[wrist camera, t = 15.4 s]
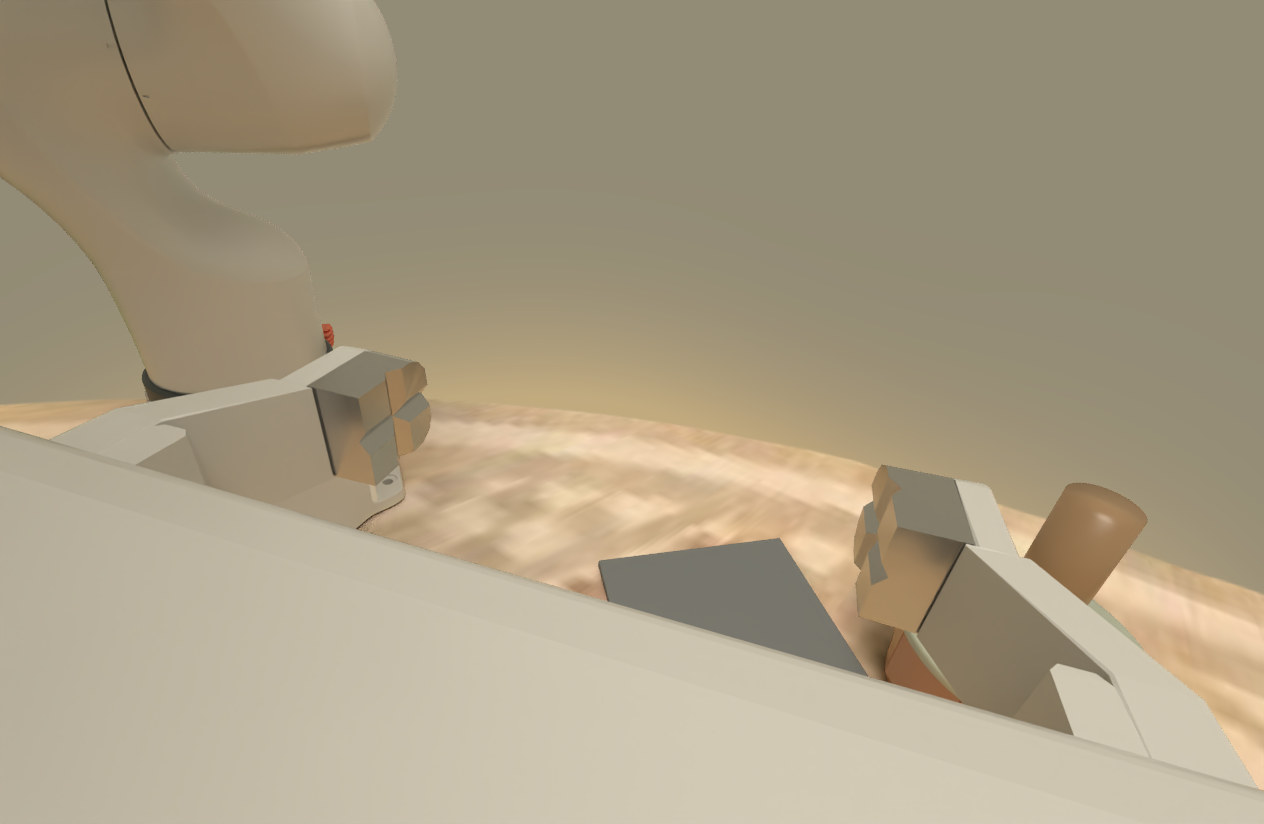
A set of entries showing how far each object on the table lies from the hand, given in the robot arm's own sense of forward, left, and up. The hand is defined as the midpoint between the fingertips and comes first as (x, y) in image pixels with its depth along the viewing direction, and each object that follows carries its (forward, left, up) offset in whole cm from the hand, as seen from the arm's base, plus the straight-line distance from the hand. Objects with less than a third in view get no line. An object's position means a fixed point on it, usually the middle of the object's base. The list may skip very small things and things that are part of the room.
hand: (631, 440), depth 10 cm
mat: (-16, +13, -29) cm, 36 cm away
